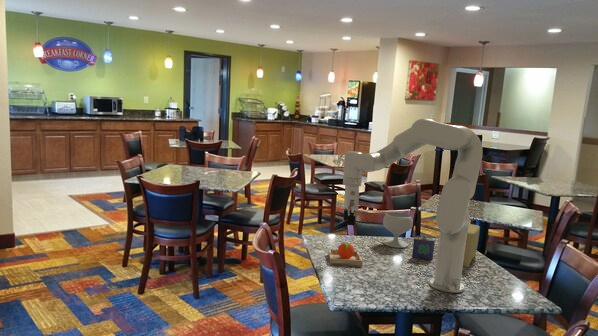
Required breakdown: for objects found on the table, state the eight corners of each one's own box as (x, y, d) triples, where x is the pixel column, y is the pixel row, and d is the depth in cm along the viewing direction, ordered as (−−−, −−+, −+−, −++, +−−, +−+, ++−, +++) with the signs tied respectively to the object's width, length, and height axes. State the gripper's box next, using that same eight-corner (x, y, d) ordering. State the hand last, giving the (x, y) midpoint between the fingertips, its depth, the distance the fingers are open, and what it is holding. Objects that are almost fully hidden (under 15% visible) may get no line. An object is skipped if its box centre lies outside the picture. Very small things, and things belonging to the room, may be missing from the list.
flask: (432, 258, 209) (434, 235, 208) (433, 260, 206) (436, 237, 205) (411, 256, 209) (413, 233, 208) (412, 258, 207) (415, 235, 205)
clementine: (354, 263, 192) (356, 246, 191) (337, 261, 192) (339, 244, 191) (352, 256, 200) (354, 240, 199) (336, 255, 200) (337, 239, 199)
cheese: (478, 269, 199) (482, 235, 197) (454, 265, 202) (458, 231, 200) (476, 255, 220) (480, 224, 218) (454, 252, 222) (458, 221, 221)
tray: (362, 267, 190) (362, 261, 190) (330, 264, 190) (330, 258, 189) (357, 256, 203) (358, 251, 203) (328, 254, 203) (328, 249, 202)
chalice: (405, 251, 217) (408, 219, 215) (376, 244, 224) (379, 214, 222) (413, 244, 229) (417, 214, 227) (386, 238, 236) (389, 209, 234)
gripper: (364, 185, 183) (361, 228, 185) (358, 179, 201) (355, 218, 203) (345, 184, 183) (342, 226, 185) (340, 178, 200) (338, 217, 202)
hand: (349, 222), depth 194 cm, fingers open, 9 cm apart
